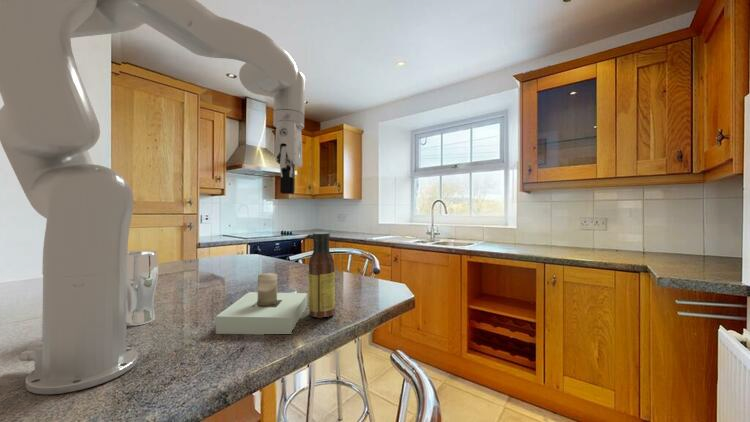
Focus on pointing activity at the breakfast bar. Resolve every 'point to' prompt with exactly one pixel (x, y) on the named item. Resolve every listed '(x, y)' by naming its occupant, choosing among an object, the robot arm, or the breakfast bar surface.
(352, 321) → the breakfast bar surface
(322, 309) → the sauce bottle
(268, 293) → the peg
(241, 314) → the seat board
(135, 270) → the beer glass
